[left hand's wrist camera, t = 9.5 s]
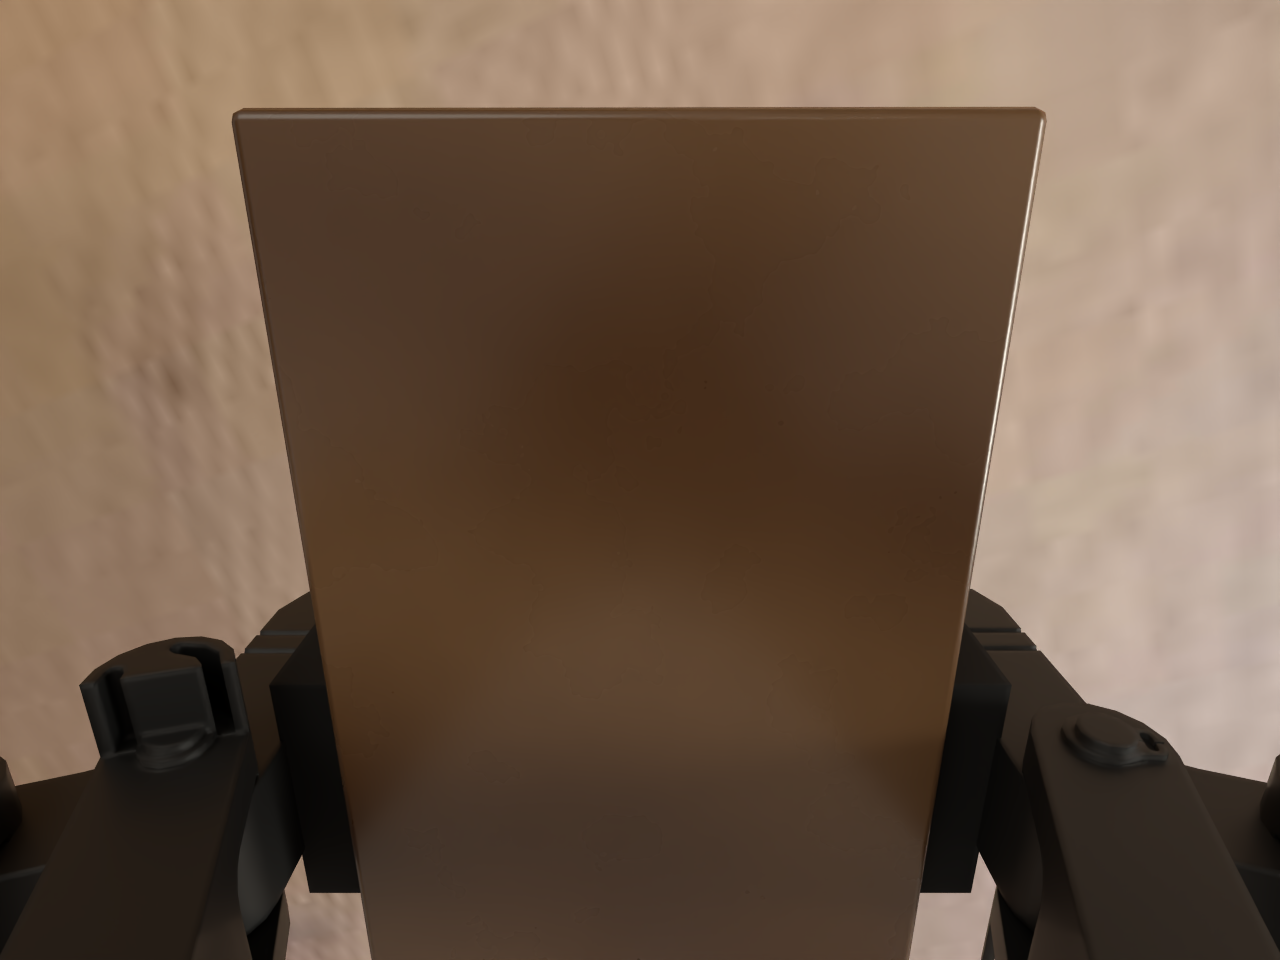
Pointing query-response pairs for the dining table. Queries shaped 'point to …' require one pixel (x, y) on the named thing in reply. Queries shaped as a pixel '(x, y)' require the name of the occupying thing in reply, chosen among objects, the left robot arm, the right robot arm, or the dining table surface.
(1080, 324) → the dining table surface
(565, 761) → the bar
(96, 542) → the dining table surface
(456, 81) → the dining table surface
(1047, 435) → the dining table surface
